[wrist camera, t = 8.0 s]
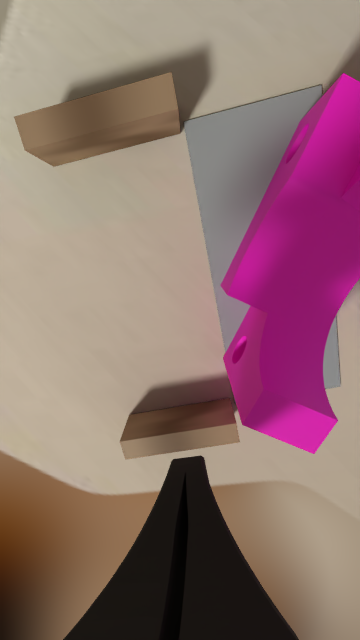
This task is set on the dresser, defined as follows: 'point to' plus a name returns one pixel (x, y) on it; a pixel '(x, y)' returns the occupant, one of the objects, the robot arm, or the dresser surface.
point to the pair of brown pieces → (102, 137)
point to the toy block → (298, 274)
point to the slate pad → (244, 189)
